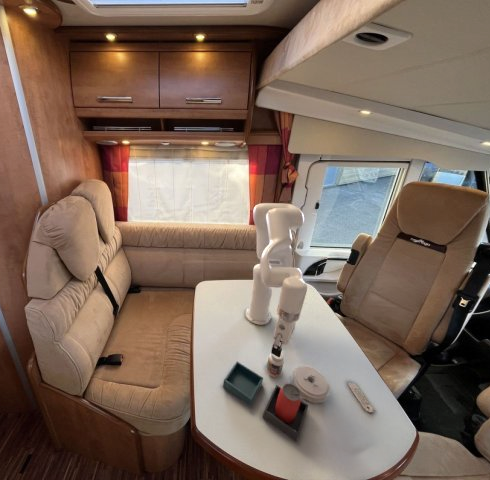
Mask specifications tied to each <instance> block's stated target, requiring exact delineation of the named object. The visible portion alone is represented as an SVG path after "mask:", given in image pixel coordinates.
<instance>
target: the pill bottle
mask: <svg viewBox="0 0 490 480" xmlns="http://www.w3.org/2000/svg"><path fill="white" fill-rule="evenodd" d="M284 358H285V354H284V353H283V350H282V351H281V355H280V357H277V356H275V355H274V354H272V353H271V352H270V354H269V355H268V358H267V359H268V360H267V363H266V372H267V373H268V374H269V375H270V376H271V377H274V378H276V377H277V378H278V377H279V376H280V375H281V374H282V371H283V367H284V363H285V359H284Z"/></svg>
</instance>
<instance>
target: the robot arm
mask: <svg viewBox="0 0 490 480" xmlns="http://www.w3.org/2000/svg"><path fill="white" fill-rule="evenodd" d="M252 219H253V222H254V226H255V230H256V257H257V259H258V260H259V261H260V263H257V264H255V265H254V267H253V269H252V288H251V295H250V302H249V307H247V308H246V310H245V317H246V319H247V320H248V321H249V322H250V323H252V324H254V325H257V326H263V325H268V324H269V322H271V315H270V313H269V311H270V305H271V302H272V301H271V299H272V296H273V288H275V289H277V288H278V289H279V288H281V289H280V293H279V294H280V295H279V298H278V303H277V308H276V314H277V316H278V317H277V320H276V324H275V327H274V328H275V329H274V332H273V340H274V341H273V344H272V346H271V350H270V351H271V352H270V354H271V353H272V354H274V355H275V356H277V357H280V355H281V351H282V352H283V348H282V347H283V345H284V346H287V345H289V342H290V340H291V338H292V337H293V335H294V332H295V329H296V324H297V321H299V320H300V317H301V313H302V310H303V307H304V302H305V299H306V296H307V295H306V294H307V291H308V285H307V283H306V282H305V280H304V274H303V272H302V270H301V269H300V268H298V267H293V250H292V246H291V245H292V244H293V236H292V231H291V230H292V229H297V230H298V229H300V228H302V227H303V225H304V222H305V217H304V213H303V211H302V210H301V209H300V207H297V206H296V205H294V204H292V203H276V202H262V203H258V204H256V205H255V206H254V208H253V212H252ZM270 262H279V263H270Z"/></svg>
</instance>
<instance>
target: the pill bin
mask: <svg viewBox="0 0 490 480" xmlns="http://www.w3.org/2000/svg"><path fill="white" fill-rule="evenodd" d="M263 381H264V377H263V376H262V375H259V374H258V373H256V372H255V371H254V370H251V369H250V368H249V367H247V366H246V365H244V364H242V363H241V362H239V361H236V362H235V363H234V365H233V366H232V368H231V369H230V370H229V372H228V373H227V375H226V377H225V378H224V379H223V385H222V387H223V388H224V389H225V390H226V391H228V392H230V394H232V395H233V396H235V397H236V398H237V399H239V400H240V401H242V402H243V403H245V404H246V405H247V406H248V407H251V406H252V404H253V403H254V401H255V399H256V396H257V395H258V393H259V391H260V389H261V387H262V385H263Z"/></svg>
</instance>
